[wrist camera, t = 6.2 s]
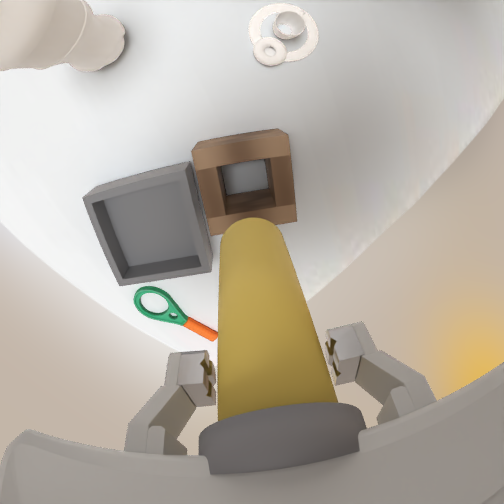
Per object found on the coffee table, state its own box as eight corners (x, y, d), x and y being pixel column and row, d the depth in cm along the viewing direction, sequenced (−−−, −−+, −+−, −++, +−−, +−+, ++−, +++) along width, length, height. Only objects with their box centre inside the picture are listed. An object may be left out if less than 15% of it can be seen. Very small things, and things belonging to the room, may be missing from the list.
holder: (277, 128, 29) (288, 134, 24) (286, 201, 34) (297, 221, 29) (198, 141, 30) (191, 151, 24) (213, 213, 34) (210, 235, 29)
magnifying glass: (129, 300, 41) (126, 307, 40) (145, 277, 39) (142, 284, 38) (205, 341, 47) (205, 348, 46) (225, 323, 45) (226, 330, 44)
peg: (289, 201, 16) (396, 431, 5) (295, 273, 19) (357, 473, 7) (202, 216, 16) (169, 467, 5) (220, 285, 19) (222, 494, 7)
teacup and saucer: (265, 76, 26) (270, 73, 23) (228, 24, 23) (228, 14, 19) (329, 47, 25) (342, 41, 21) (294, -4, 21) (302, -16, 17)
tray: (190, 161, 31) (184, 169, 27) (212, 254, 37) (211, 272, 34) (95, 186, 31) (82, 197, 27) (127, 269, 38) (119, 286, 34)
